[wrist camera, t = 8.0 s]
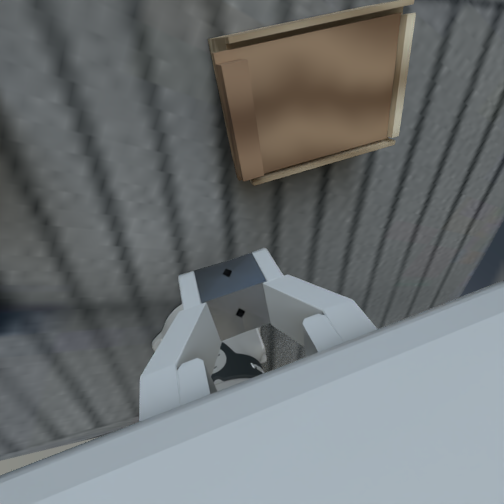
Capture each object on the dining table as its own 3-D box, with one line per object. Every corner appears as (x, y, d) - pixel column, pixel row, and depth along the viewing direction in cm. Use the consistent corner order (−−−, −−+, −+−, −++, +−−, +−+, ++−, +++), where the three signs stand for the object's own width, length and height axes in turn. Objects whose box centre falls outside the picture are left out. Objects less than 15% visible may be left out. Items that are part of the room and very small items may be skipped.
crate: (351, 127, 38) (397, 145, 31) (232, 160, 35) (254, 187, 29) (356, 7, 30) (418, -4, 24) (207, 39, 28) (229, 36, 21)
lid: (381, 136, 32) (399, 143, 29) (237, 177, 29) (245, 188, 27) (394, 13, 25) (419, 10, 23) (211, 53, 23) (219, 54, 21)
